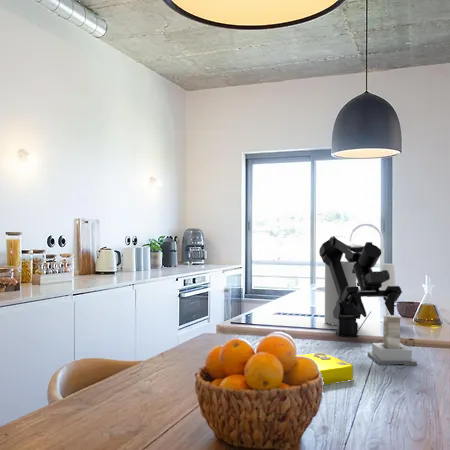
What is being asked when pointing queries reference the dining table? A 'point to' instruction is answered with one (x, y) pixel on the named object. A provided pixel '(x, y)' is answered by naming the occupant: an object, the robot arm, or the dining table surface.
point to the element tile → (332, 368)
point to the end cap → (391, 355)
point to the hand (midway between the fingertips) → (379, 316)
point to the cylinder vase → (331, 290)
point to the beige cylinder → (391, 332)
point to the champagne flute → (388, 281)
